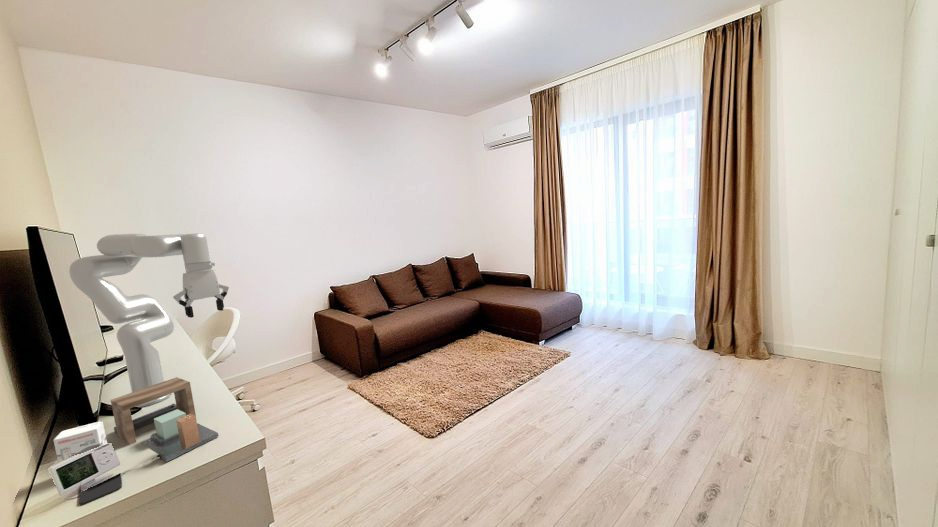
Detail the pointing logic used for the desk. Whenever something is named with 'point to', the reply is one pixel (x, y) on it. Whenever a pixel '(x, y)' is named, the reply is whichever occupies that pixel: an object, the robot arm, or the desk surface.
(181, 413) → the sage block
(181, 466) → the desk surface
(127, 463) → the desk surface
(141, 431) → the desk surface
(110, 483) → the phone
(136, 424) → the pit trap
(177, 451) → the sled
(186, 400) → the tunnel
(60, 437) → the ink box
